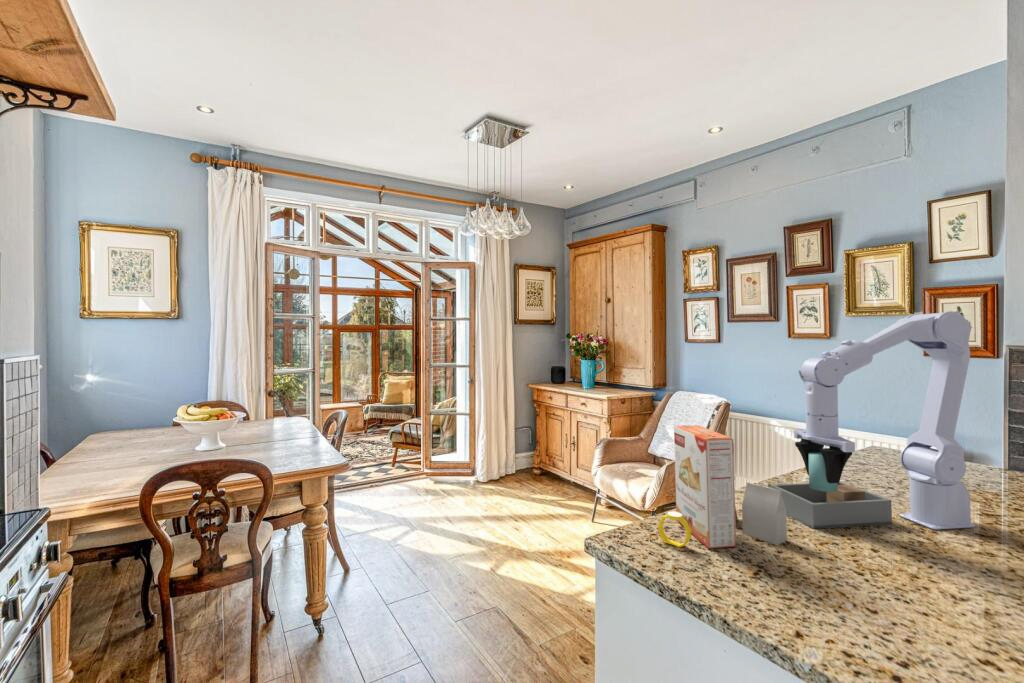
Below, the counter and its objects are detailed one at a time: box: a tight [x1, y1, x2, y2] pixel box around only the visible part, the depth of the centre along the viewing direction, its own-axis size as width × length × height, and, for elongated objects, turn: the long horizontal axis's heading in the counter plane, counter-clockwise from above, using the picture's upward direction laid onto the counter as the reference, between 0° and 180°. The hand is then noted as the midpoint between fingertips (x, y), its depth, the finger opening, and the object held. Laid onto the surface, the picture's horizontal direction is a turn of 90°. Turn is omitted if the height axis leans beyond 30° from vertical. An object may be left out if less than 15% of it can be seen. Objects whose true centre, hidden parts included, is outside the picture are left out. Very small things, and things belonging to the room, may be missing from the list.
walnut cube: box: [826, 484, 866, 502], centre depth 104 cm, size 5×5×5 cm
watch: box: [657, 511, 692, 548], centre depth 90 cm, size 6×3×6 cm, turn 46°
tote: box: [769, 480, 893, 530], centre depth 104 cm, size 18×14×5 cm
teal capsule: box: [808, 452, 838, 492], centre depth 99 cm, size 5×5×7 cm
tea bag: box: [741, 482, 788, 546], centre depth 93 cm, size 4×7×10 cm, turn 33°
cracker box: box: [673, 424, 737, 549], centre depth 95 cm, size 14×6×21 cm, turn 5°
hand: (823, 478), depth 99 cm, fingers closed on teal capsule, 5 cm apart
